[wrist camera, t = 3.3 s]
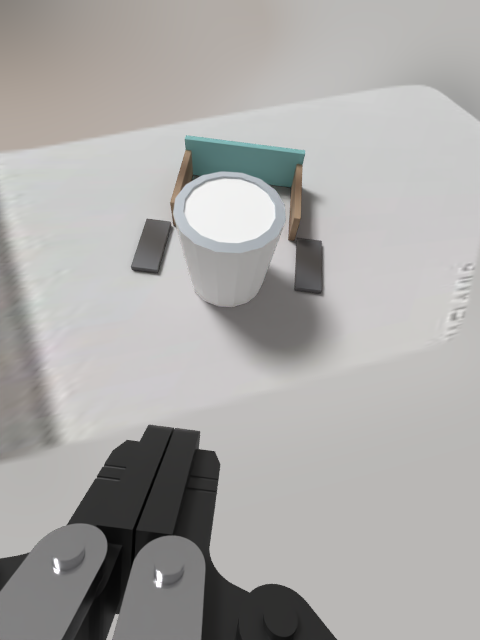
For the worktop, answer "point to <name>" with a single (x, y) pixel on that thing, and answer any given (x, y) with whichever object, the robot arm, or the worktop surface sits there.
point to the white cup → (228, 234)
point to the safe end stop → (244, 159)
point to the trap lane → (306, 249)
